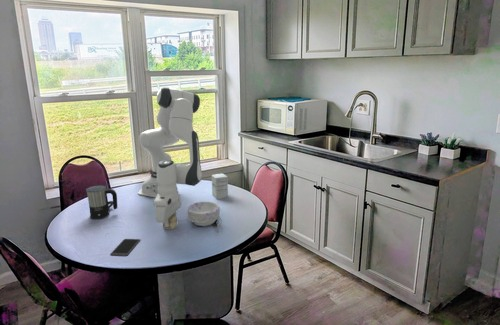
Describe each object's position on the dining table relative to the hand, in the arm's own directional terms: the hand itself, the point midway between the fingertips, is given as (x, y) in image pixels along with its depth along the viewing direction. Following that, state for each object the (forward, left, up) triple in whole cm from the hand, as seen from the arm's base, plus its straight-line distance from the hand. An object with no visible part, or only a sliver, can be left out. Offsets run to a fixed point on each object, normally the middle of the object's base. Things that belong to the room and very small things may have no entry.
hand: (170, 223), depth 165 cm
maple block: (0, 0, -2) cm, 2 cm away
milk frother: (-42, +9, -2) cm, 43 cm away
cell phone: (-10, -22, -2) cm, 24 cm away
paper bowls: (+14, +8, -2) cm, 16 cm away
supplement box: (+11, +44, -2) cm, 45 cm away
